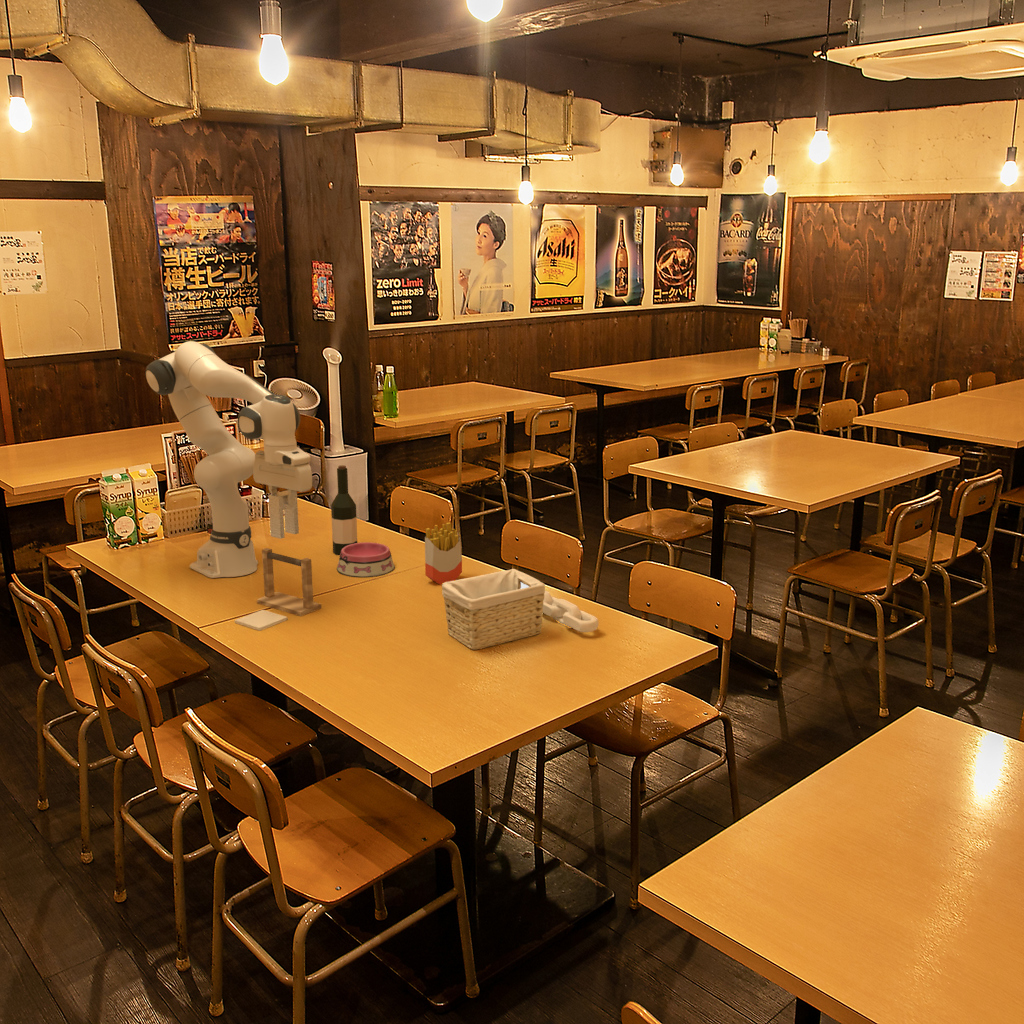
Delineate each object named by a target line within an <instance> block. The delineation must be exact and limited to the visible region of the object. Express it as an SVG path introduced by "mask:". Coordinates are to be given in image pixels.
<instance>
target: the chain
mask: <svg viewBox="0 0 1024 1024" xmlns="http://www.w3.org/2000/svg"><path fill="white" fill-rule="evenodd" d="M544 595H545V596H544V600H543V602H544V603H543V613H544V614H543V615H546V616H549V617H551V618H552V619H553V620H554V619H555V620H557V621H559V622H560V623H562V624H565V625H567V626H569V627H571V628H573V630H575V631H578V632H580V633H591V632H595V631H596V630H597V629H598V627H599V624H600V623H599V619H598V618H597V616H595V615H593V614H590V613H588V612H586V611H584V610H580V608H579V606H577V604H574V603H572V602H570V601H568V600H567V599H564V598H557V597H555V596H552V595H551V593H550V592H549V591H547V590H546V589H545V593H544ZM555 620H554V621H555ZM560 623H559V624H560ZM562 624H561V625H562ZM571 628H570V629H571Z"/></svg>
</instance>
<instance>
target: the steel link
mask: <svg viewBox="0 0 1024 1024" xmlns="http://www.w3.org/2000/svg"><path fill="white" fill-rule="evenodd" d="M277 492H278V493H274V494H271V493H270V494H268V506H269V507H268V509H269V524H270V525H269V526H270V528H269V529H270V537H272V538H277V539H280V540H281V539H284V538H285V533H287V534H291V535H297V534H299V510H298V492H297V493H296V495H295V497H294V504H291V505H289V504H286V498H288V495H289V493H288V489H285V490H283V491H277Z"/></svg>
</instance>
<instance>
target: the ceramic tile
mask: <svg viewBox="0 0 1024 1024" xmlns="http://www.w3.org/2000/svg"><path fill="white" fill-rule="evenodd" d="M288 619H289V618H288V616H285V615H283V614H278V613H275V612H271V611H268V610H265V609H262V610H258V611H254V612H253V613H250V614H247V615H244V616H243V617H240V618H239V617H238V618H237V619H234V623H235V624H237V625H240V626H242V627H246V628H249V629H253V630H255V631H258V632H260V631H263V630H266V629H268V628H270V627H274V626H275V625H277V624H280V623H281V624H282V623H284V622H286V621H289V620H288Z"/></svg>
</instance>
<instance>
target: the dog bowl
mask: <svg viewBox="0 0 1024 1024" xmlns="http://www.w3.org/2000/svg"><path fill="white" fill-rule="evenodd" d="M391 552H392V551H391V550H390V548H389V547H388V546H387V545H385V544H383V543H377V542H370V541H369V542H368V541H367V542H366V541H365V542H363V541H362V542H357V543H355V544H350V545H347V546H345V547H344V548H343V549H342V550H341V554H340V555H339V558H338V561H337V562H338V563H337V567H336V571H337V572H338V574H340V575H342V576H345V577H349V578H350V577H351V578H358V579H360V578H361V579H362V578H363V579H364V578H375V577H381V576H385V575H388V574H390V573H392V572H393V571H394V570H395V569H396V567H395V563H394V560H393V557H392V553H391Z"/></svg>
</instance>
